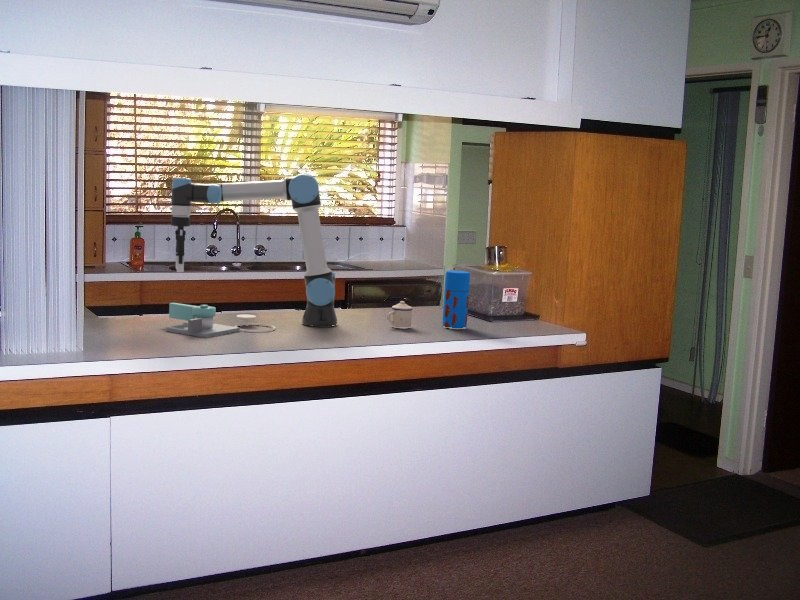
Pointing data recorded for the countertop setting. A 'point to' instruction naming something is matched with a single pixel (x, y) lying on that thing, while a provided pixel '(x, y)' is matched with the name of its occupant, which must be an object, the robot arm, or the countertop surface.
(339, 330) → the countertop surface
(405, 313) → the teacup with lid
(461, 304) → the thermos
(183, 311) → the domed saucepan
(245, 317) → the hand towel holder
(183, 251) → the robot arm
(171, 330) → the post board
